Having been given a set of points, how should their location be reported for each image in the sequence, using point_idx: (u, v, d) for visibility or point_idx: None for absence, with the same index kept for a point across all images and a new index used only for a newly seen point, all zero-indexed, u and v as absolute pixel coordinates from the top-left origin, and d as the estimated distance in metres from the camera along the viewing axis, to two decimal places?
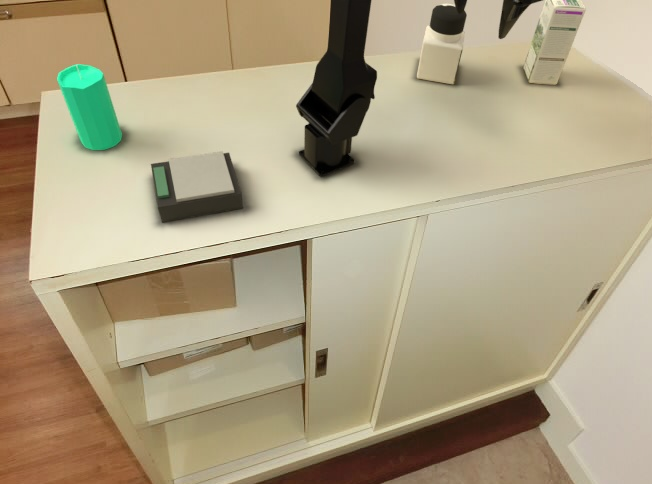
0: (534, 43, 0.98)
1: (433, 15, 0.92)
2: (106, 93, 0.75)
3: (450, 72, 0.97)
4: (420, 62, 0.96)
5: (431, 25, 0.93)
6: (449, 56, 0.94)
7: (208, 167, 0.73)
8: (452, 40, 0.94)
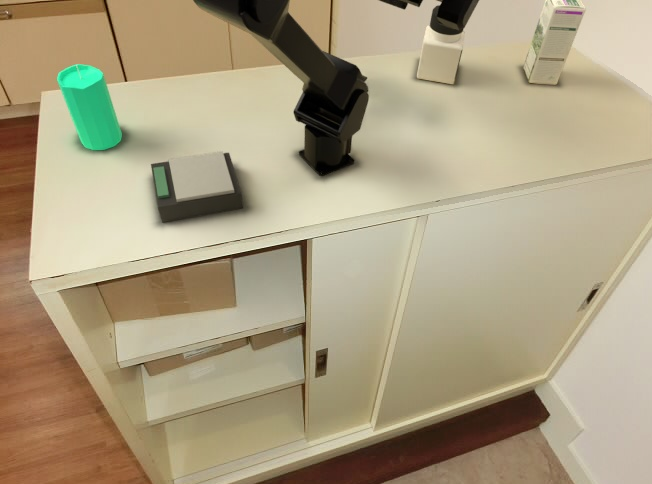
0: (534, 43, 0.98)
1: (433, 15, 0.92)
2: (106, 93, 0.75)
3: (450, 72, 0.97)
4: (420, 62, 0.96)
5: (431, 25, 0.93)
6: (449, 56, 0.94)
7: (208, 167, 0.73)
8: (452, 40, 0.94)
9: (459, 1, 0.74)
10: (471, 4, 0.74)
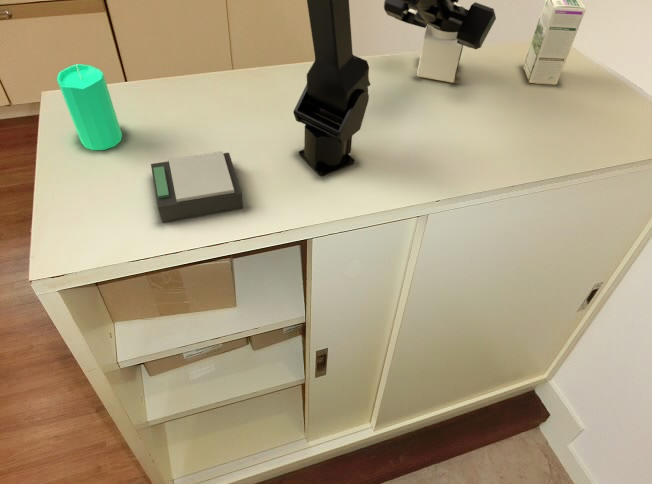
0: (534, 43, 0.98)
1: None
2: (106, 93, 0.75)
3: (450, 70, 0.96)
4: (420, 60, 0.96)
5: None
6: (449, 54, 0.94)
7: (208, 167, 0.73)
8: (453, 38, 0.94)
9: (476, 25, 0.85)
10: (487, 27, 0.85)
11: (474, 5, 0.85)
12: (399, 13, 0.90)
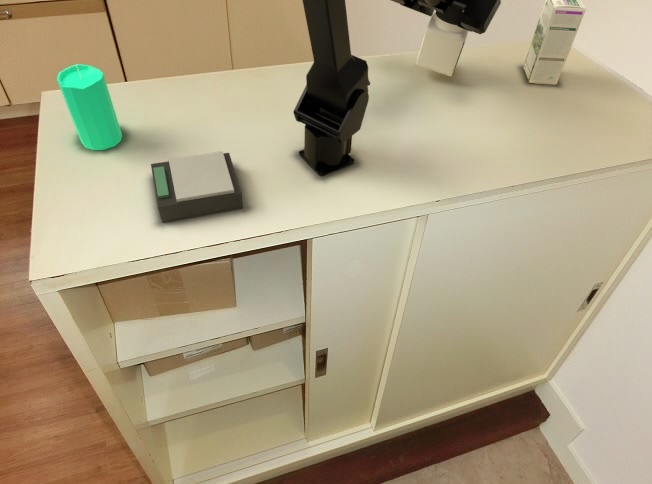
0: (534, 43, 0.98)
1: None
2: (106, 93, 0.75)
3: (449, 63, 0.95)
4: (421, 49, 0.94)
5: (437, 12, 0.91)
6: (451, 47, 0.93)
7: (208, 167, 0.73)
8: (456, 31, 0.92)
9: (481, 8, 0.82)
10: (492, 10, 0.83)
11: None
12: None
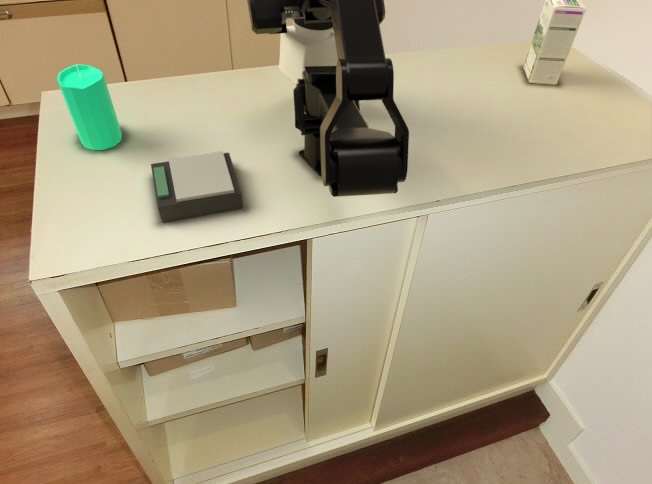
0: (534, 43, 0.98)
1: None
2: (106, 93, 0.75)
3: None
4: None
5: (303, 24, 0.77)
6: (332, 53, 0.81)
7: (208, 167, 0.73)
8: (329, 34, 0.80)
9: None
10: None
11: None
12: (280, 25, 0.71)
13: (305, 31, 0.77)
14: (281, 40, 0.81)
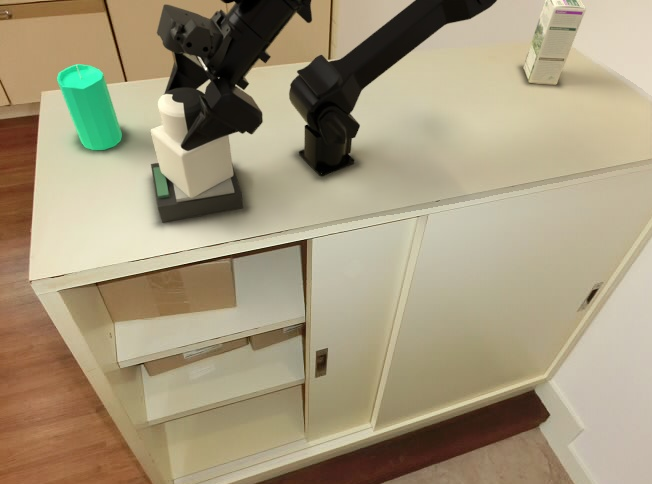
0: (534, 43, 0.98)
1: None
2: (106, 93, 0.75)
3: None
4: (230, 156, 0.70)
5: None
6: None
7: None
8: None
9: None
10: None
11: None
12: None
13: None
14: (188, 167, 0.65)
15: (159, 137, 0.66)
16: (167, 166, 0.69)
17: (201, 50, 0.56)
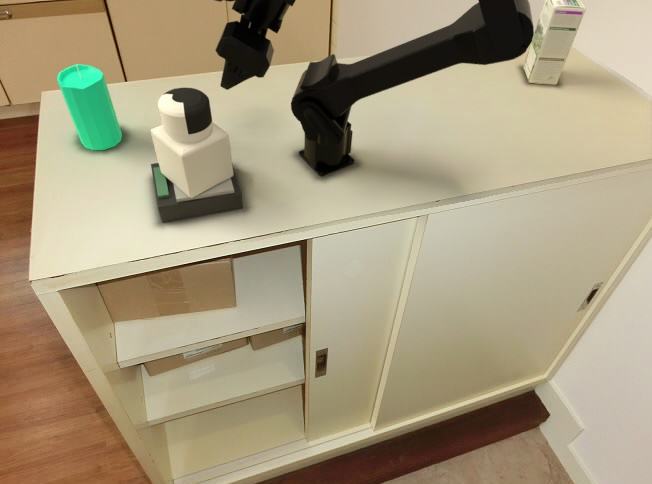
0: (534, 43, 0.98)
1: (206, 110, 0.63)
2: (106, 93, 0.75)
3: None
4: (230, 156, 0.70)
5: (208, 122, 0.65)
6: None
7: None
8: None
9: None
10: None
11: None
12: (272, 49, 0.64)
13: (210, 126, 0.66)
14: (188, 166, 0.65)
15: (159, 136, 0.66)
16: (167, 166, 0.69)
17: None
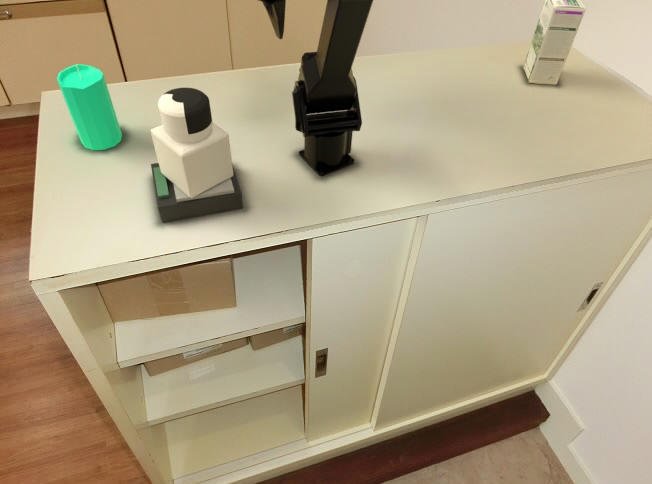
0: (534, 43, 0.98)
1: (206, 110, 0.63)
2: (106, 93, 0.75)
3: None
4: (230, 156, 0.70)
5: (208, 122, 0.65)
6: None
7: None
8: None
9: None
10: None
11: None
12: None
13: (210, 126, 0.66)
14: (188, 166, 0.65)
15: (159, 136, 0.66)
16: (167, 166, 0.69)
17: None
